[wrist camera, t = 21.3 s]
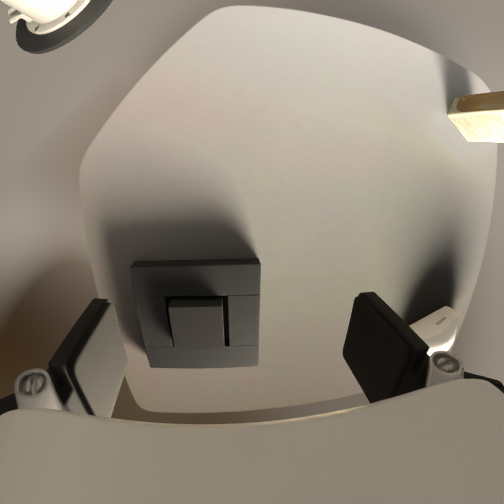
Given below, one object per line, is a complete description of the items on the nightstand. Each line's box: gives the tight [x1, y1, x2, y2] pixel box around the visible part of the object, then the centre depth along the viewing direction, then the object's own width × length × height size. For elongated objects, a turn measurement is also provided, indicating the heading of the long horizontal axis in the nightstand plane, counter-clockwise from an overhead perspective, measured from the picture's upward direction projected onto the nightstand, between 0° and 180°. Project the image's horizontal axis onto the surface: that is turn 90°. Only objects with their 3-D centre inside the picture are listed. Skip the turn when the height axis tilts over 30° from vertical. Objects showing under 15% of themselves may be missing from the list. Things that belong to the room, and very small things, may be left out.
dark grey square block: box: [168, 295, 225, 350], centre depth 33 cm, size 6×6×3 cm
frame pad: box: [130, 258, 261, 368], centre depth 34 cm, size 15×15×2 cm
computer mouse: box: [409, 306, 457, 356], centre depth 38 cm, size 6×13×6 cm, turn 108°
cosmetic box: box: [448, 91, 504, 142], centre depth 24 cm, size 6×4×12 cm
